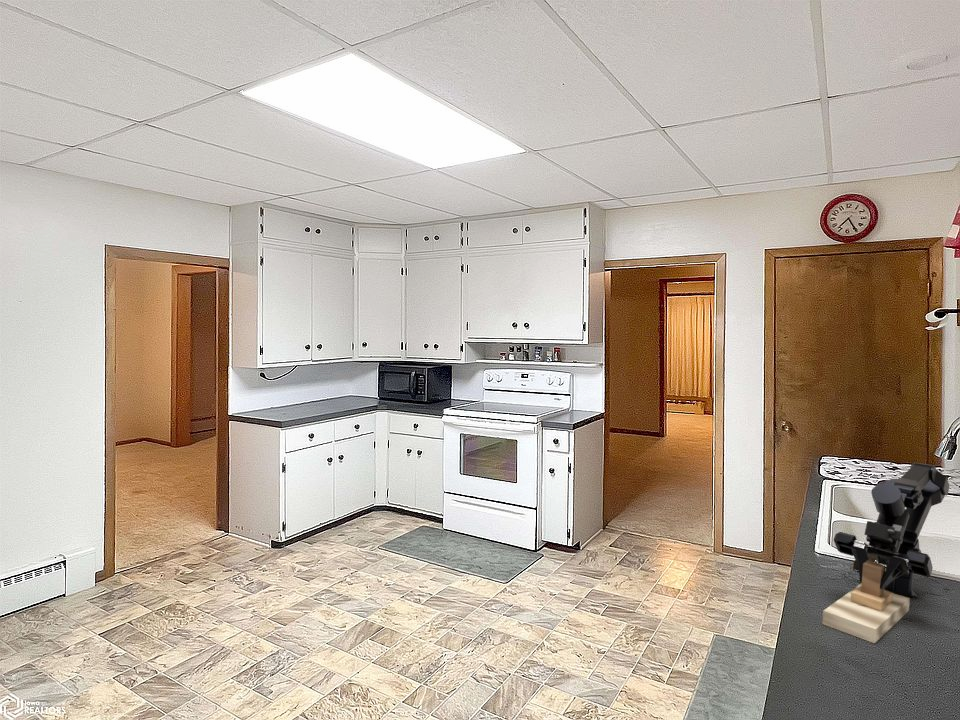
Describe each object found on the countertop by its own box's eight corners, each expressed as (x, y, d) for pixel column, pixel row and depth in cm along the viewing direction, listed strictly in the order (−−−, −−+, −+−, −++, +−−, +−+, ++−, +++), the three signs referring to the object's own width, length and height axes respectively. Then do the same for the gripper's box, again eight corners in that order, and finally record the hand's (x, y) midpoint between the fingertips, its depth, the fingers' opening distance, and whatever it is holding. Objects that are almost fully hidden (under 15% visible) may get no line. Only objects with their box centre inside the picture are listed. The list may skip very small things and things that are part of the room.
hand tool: (869, 576, 161) (871, 559, 161) (852, 571, 164) (853, 555, 164) (886, 559, 174) (888, 543, 174) (870, 555, 177) (872, 539, 177)
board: (860, 595, 148) (861, 583, 148) (908, 610, 141) (909, 598, 141) (822, 624, 133) (823, 610, 133) (874, 643, 125) (875, 629, 125)
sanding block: (862, 591, 143) (865, 556, 143) (892, 601, 139) (895, 564, 138) (850, 600, 138) (853, 564, 137) (880, 611, 133) (883, 573, 133)
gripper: (839, 498, 147) (818, 553, 140) (933, 519, 132) (914, 581, 126) (848, 524, 152) (828, 578, 146) (939, 546, 138) (922, 607, 132)
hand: (870, 585), depth 137 cm, fingers closed on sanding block, 4 cm apart
